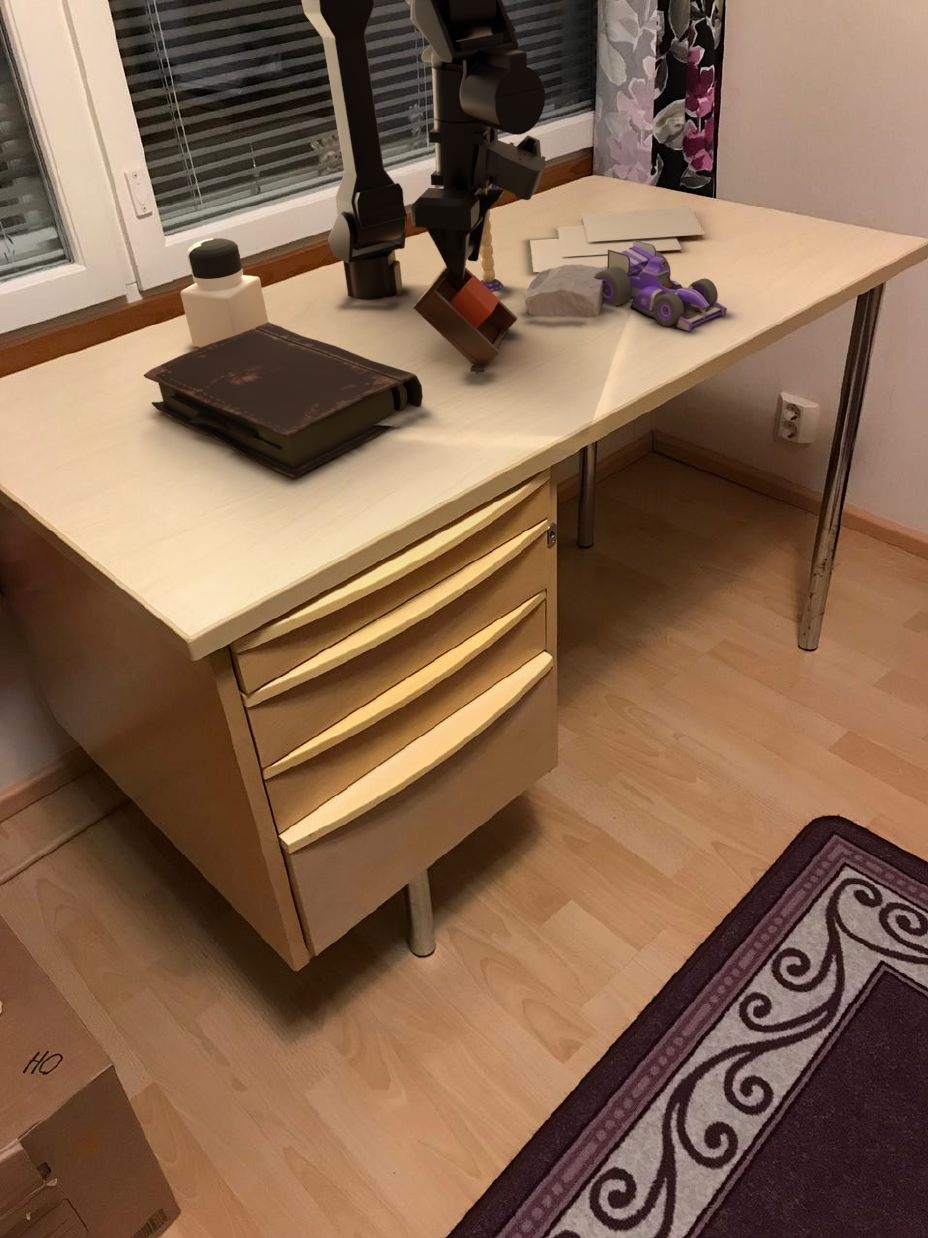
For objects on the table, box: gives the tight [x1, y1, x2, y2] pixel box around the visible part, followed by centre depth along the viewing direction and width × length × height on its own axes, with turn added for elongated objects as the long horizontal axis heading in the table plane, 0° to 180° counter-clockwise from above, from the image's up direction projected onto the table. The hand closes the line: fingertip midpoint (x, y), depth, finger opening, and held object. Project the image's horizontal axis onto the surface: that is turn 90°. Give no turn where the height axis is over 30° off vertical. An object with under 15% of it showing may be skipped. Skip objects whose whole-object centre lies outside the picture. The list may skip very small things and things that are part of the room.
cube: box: [449, 274, 500, 329], centre depth 114 cm, size 4×4×4 cm
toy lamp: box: [479, 184, 505, 293], centre depth 128 cm, size 5×5×17 cm
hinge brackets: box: [469, 329, 509, 375], centre depth 116 cm, size 2×14×1 cm, turn 166°
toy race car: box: [594, 240, 728, 332], centre depth 123 cm, size 10×15×6 cm, turn 39°
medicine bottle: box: [180, 237, 269, 348], centre depth 123 cm, size 7×7×12 cm
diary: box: [143, 321, 424, 479], centre depth 107 cm, size 19×25×5 cm
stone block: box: [524, 264, 607, 318], centre depth 126 cm, size 12×5×10 cm
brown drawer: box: [412, 239, 519, 367], centre depth 113 cm, size 11×10×7 cm
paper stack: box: [529, 205, 706, 273], centre depth 146 cm, size 23×25×1 cm
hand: (465, 270), depth 111 cm, fingers closed on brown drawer, 6 cm apart
